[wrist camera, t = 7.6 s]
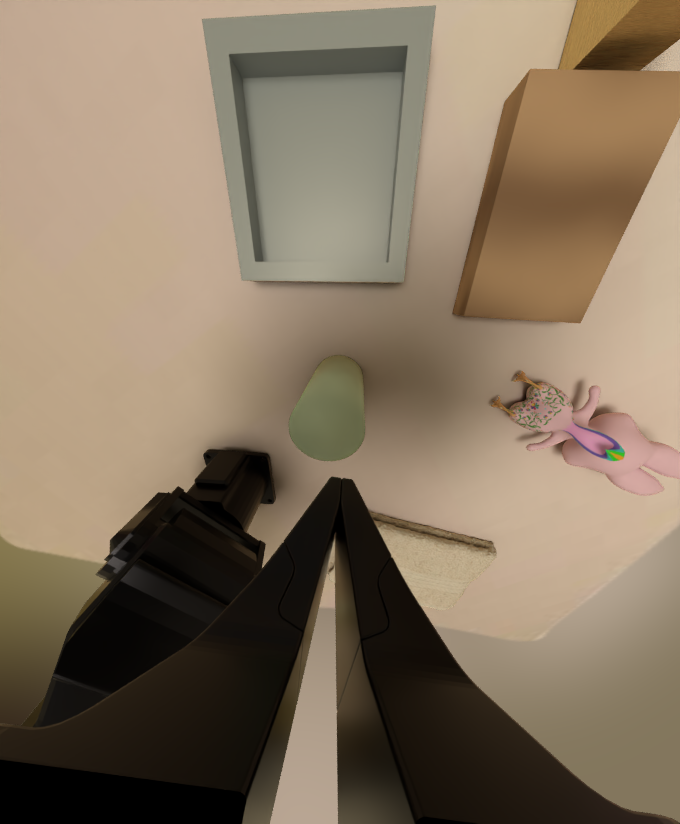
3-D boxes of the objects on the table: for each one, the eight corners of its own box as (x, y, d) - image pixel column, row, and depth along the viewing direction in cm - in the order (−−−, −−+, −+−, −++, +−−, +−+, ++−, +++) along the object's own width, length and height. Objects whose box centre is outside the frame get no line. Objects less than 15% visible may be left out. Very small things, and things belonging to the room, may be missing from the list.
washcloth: (342, 499, 26) (340, 524, 24) (495, 536, 27) (510, 563, 24) (320, 561, 32) (316, 586, 29) (448, 590, 33) (456, 617, 30)
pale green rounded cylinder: (361, 402, 20) (362, 463, 13) (315, 400, 21) (291, 459, 14) (364, 356, 19) (367, 396, 11) (313, 354, 19) (285, 393, 12)
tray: (398, 283, 16) (403, 282, 14) (254, 281, 17) (241, 280, 15) (424, 49, 12) (435, 5, 10) (224, 58, 12) (202, 18, 10)
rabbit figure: (470, 411, 22) (616, 494, 21) (494, 444, 16) (688, 555, 16) (525, 348, 19) (692, 443, 19) (575, 363, 13) (809, 496, 13)
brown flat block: (551, 318, 17) (580, 323, 15) (450, 312, 17) (463, 316, 15) (640, 110, 12) (701, 71, 10) (500, 107, 13) (530, 69, 10)
